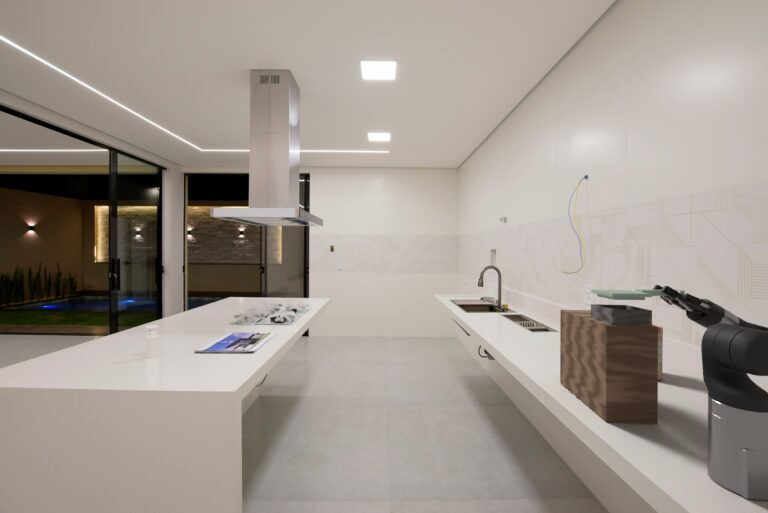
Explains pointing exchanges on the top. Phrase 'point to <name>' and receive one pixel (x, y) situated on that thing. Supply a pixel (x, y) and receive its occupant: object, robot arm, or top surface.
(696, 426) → the top surface
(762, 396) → the robot arm
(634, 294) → the green t-shaped block
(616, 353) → the cabinet
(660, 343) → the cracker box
